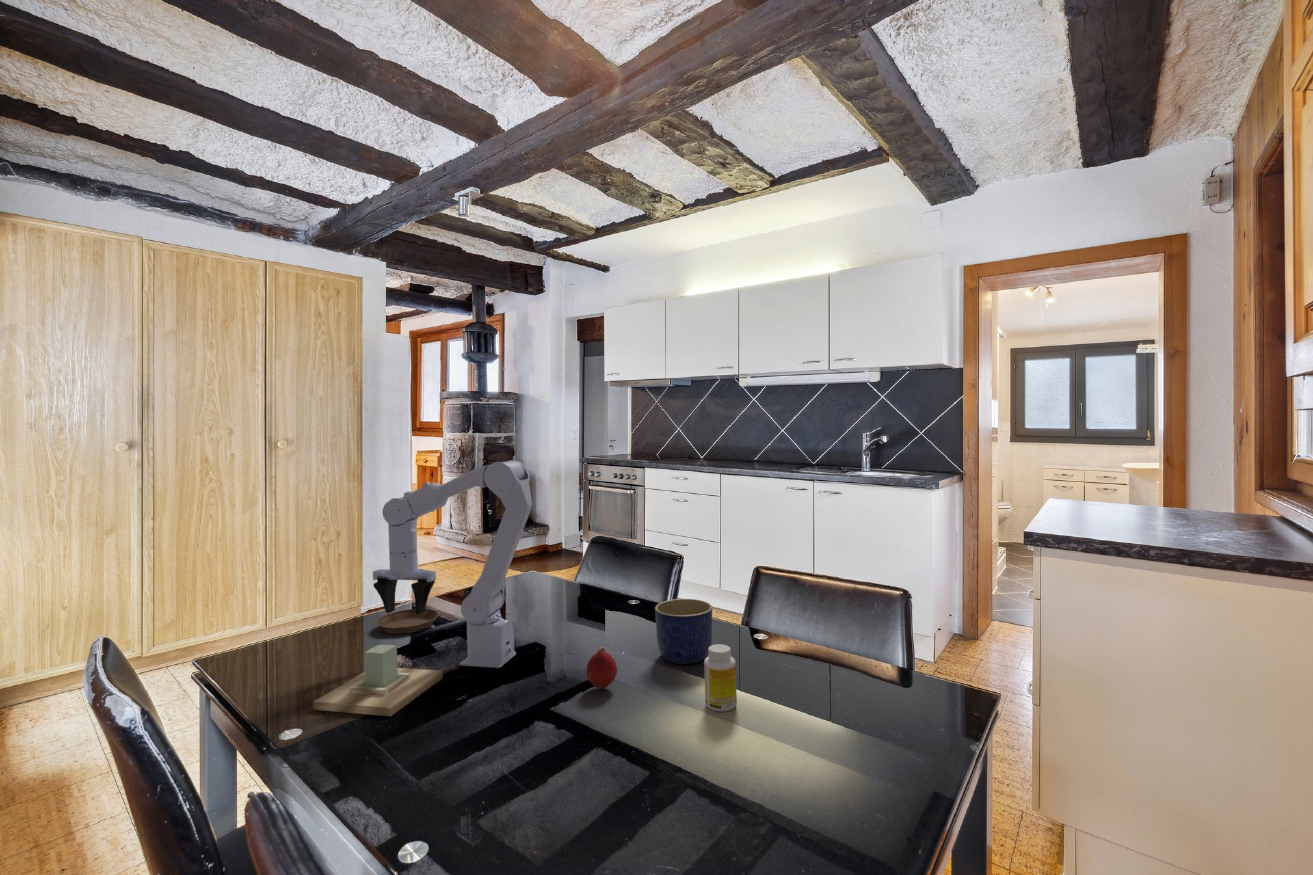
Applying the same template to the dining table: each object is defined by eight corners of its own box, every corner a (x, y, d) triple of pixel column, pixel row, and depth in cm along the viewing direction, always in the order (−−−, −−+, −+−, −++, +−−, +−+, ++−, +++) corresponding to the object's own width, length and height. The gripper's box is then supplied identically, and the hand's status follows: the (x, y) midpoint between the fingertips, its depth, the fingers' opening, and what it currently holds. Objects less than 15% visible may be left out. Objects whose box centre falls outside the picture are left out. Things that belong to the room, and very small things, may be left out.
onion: (612, 697, 107) (611, 654, 107) (582, 695, 108) (581, 652, 108) (620, 683, 112) (619, 642, 112) (592, 681, 114) (591, 641, 114)
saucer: (444, 628, 149) (444, 618, 149) (382, 641, 141) (381, 630, 141) (431, 614, 161) (430, 605, 161) (372, 626, 153) (372, 615, 153)
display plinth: (442, 678, 117) (442, 665, 117) (390, 716, 102) (390, 702, 102) (374, 673, 121) (373, 661, 121) (313, 709, 105) (313, 695, 105)
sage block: (397, 681, 113) (396, 645, 113) (383, 690, 109) (382, 653, 109) (380, 679, 114) (379, 644, 114) (365, 688, 110) (364, 652, 110)
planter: (647, 664, 122) (646, 612, 122) (668, 643, 133) (667, 596, 133) (703, 671, 117) (702, 618, 117) (720, 649, 128) (719, 601, 128)
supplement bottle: (743, 708, 101) (741, 650, 101) (716, 715, 99) (714, 656, 99) (725, 695, 106) (724, 640, 106) (699, 702, 104) (697, 645, 104)
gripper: (362, 554, 126) (364, 616, 126) (421, 555, 123) (423, 619, 123) (384, 548, 133) (386, 607, 133) (440, 549, 130) (442, 609, 130)
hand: (405, 612), depth 128 cm, fingers open, 7 cm apart
